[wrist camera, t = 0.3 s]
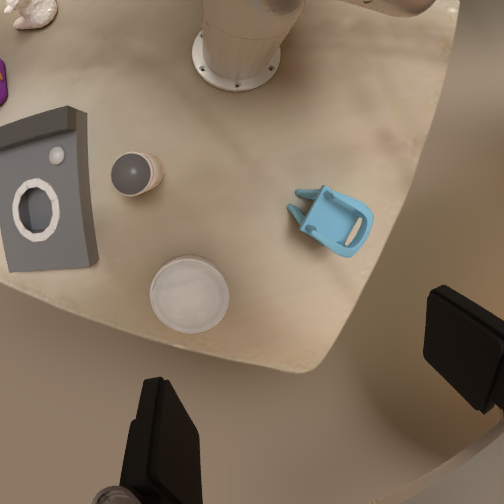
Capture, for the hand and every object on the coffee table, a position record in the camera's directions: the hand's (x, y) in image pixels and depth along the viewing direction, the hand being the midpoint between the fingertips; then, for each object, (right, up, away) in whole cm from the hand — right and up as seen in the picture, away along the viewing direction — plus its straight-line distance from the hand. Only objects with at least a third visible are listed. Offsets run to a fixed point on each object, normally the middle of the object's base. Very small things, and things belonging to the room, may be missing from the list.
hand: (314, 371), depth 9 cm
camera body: (-33, +13, +28) cm, 45 cm away
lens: (-17, +15, +30) cm, 37 cm away
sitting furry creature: (-37, +44, +18) cm, 61 cm away
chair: (+7, +10, +35) cm, 37 cm away
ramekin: (-11, -1, +35) cm, 37 cm away
